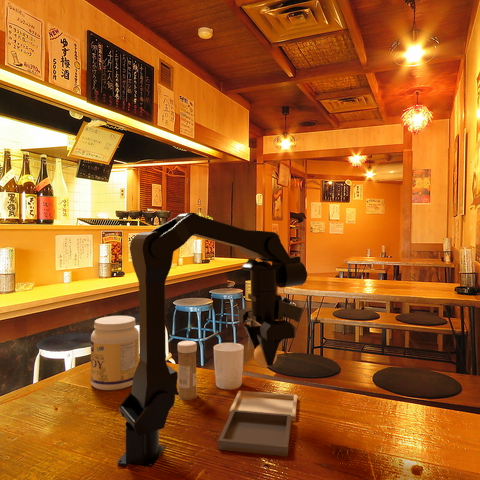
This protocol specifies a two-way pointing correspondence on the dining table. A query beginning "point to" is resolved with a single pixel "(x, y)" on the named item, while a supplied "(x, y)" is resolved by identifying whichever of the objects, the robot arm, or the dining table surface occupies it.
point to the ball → (261, 357)
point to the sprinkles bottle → (187, 370)
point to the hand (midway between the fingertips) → (265, 361)
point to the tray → (265, 403)
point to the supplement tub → (114, 352)
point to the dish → (256, 433)
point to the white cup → (228, 365)
